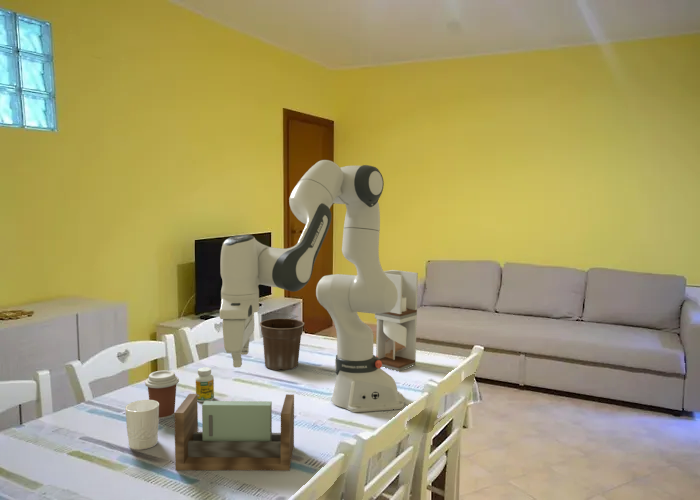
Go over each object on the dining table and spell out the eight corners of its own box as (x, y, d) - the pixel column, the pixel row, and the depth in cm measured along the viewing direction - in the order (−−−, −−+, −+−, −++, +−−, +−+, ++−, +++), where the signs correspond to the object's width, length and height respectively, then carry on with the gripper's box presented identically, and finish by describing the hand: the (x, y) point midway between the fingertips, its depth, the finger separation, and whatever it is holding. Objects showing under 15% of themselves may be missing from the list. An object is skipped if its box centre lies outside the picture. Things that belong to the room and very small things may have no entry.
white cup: (132, 437, 140) (131, 399, 139) (163, 436, 141) (162, 399, 140) (122, 451, 132) (120, 412, 131) (155, 450, 133) (154, 411, 132)
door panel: (271, 449, 131) (271, 401, 130) (270, 454, 129) (270, 405, 127) (205, 448, 131) (204, 400, 130) (202, 454, 128) (201, 405, 127)
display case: (374, 364, 203) (375, 272, 200) (391, 358, 211) (393, 269, 208) (398, 371, 196) (401, 275, 192) (415, 365, 204) (417, 272, 200)
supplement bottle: (210, 395, 170) (210, 365, 169) (216, 400, 166) (216, 370, 165) (193, 398, 167) (193, 368, 166) (199, 404, 163) (198, 373, 162)
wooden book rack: (293, 446, 136) (294, 394, 135) (289, 470, 124) (289, 413, 123) (190, 445, 136) (189, 393, 135) (175, 469, 124) (174, 412, 123)
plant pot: (312, 363, 204) (313, 321, 202) (286, 375, 190) (286, 330, 188) (278, 356, 212) (278, 316, 210) (250, 367, 198) (250, 324, 197)
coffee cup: (141, 413, 156) (140, 372, 154) (173, 406, 161) (172, 367, 160) (151, 424, 148) (150, 381, 147) (184, 416, 154) (183, 375, 152)
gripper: (235, 295, 139) (236, 347, 141) (217, 313, 119) (219, 374, 121) (259, 295, 140) (260, 347, 141) (246, 313, 119) (247, 374, 121)
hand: (241, 360), depth 131 cm, fingers open, 8 cm apart
